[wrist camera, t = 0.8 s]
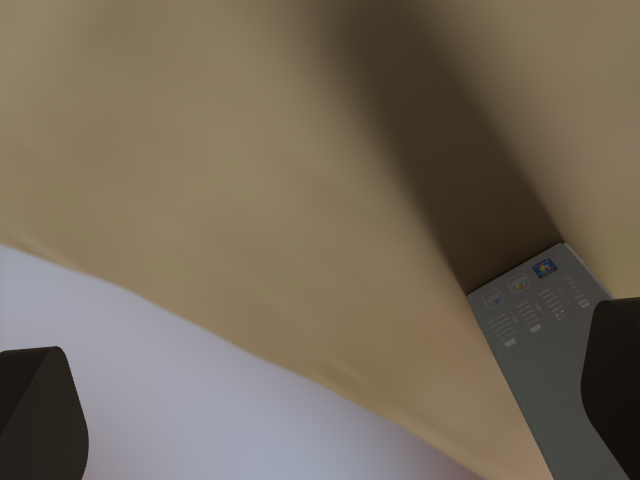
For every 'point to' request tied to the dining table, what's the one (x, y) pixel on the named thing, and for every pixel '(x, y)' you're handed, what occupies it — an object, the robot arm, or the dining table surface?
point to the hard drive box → (549, 355)
